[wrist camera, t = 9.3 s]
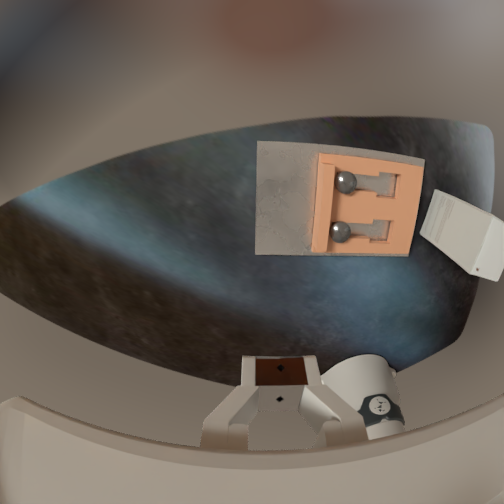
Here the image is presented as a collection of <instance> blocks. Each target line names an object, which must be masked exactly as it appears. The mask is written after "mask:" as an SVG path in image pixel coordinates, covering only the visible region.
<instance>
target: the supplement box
mask: <svg viewBox="0 0 504 504" xmlns="http://www.w3.org/2000/svg"><path fill="white" fill-rule="evenodd" d="M420 235H422V236H423V237H424V238H426V239H427V240H428V241H430V242H431V243H432V244H434V245H435V246H436V247H437V248H439V249H440V250H441V251H442V252H444V253H445V254H446V255H447V256H449V257H450V258H451V259H452V260H453V261H455V262H456V263H457V264H458V265H459V266H461V267H462V268H463V269H464V270H465V271H466V272H467V273H469V274H471V275H475V276H479V277H483V278H486V279H490V280H493V281H496V282H497V281H498V280H499V278H500V275H501V273H502V271H503V269H504V222H503V221H501V220H500V219H498V218H497V217H496V216H494V215H492V214H490V213H487V212H485V211H483V210H481V209H479V208H477V207H475V206H473V205H471V204H469V203H467V202H465V201H462V200H460V199H458V198H456V197H454V196H451V195H449V194H447V193H444V192H442V191H439V190H436V189H435V190H434V193H433V197H432V200H431V203H430V206H429V209H428V212H427V215H426V218H425V220H424V223H423V226H422V229H421V231H420Z"/></svg>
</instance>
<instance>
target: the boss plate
mask: <svg viewBox="0 0 504 504" xmlns="http://www.w3.org/2000/svg"><path fill="white" fill-rule="evenodd" d="M319 153H327V154H338V155H348V156H356V157H365V158H372V159H380V160H386V161H393V162H399V163H405V164H411V165H416V166H421V167H424V163H425V159H421V158H416V157H411V156H405V155H400V154H394V153H388V152H382V151H375V150H368V149H361V148H353V147H344V146H335V145H325V144H313V143H298V142H279V141H257V181H256V235H255V255H326V256H408V255H409V253H408V254H383V253H315V252H312V250H311V246H312V237H313V226H314V216H315V204H316V191H317V177H318V161H319ZM423 172H424V169H423ZM422 180H423V177H422ZM396 183H397V174H394V173H386V172H379V176H370V175H361V174H353V173H351V172H349V171H341V172H337V175H336V177H335V179H334V185H335V187H336V189H337V190H338V191H339V192H341V193H343V194H350V193H352V192H353V191H354V190H355V189H360V190H371V191H375V192H377V195H376V196H384V197H394V198H395V190H396ZM421 187H422V185H421ZM420 194H421V192H420ZM419 201H420V198H419ZM418 207H419V204H418ZM417 212H418V210H417ZM416 218H417V216H416ZM390 223H391V220H376V219H373V223H372V224H364V223H346V222H344V221H337V222H332V225H331V227H330V229H329V235H330V237H331V238H332V240H333V241H334V242H336V243H343V242H345V241H347V240H348V239H349V237H350V235H354V236H368V237H369V238H370V240H374V241H387V239H388V234H389V228H390ZM415 223H416V221H415ZM414 228H415V226H414ZM413 233H414V231H413ZM412 237H413V236H412ZM411 242H412V240H411ZM410 246H411V245H410ZM409 251H410V249H409Z"/></svg>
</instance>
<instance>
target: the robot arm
mask: <svg viewBox="0 0 504 504" xmlns="http://www.w3.org/2000/svg"><path fill="white" fill-rule="evenodd" d="M396 375H397V374H396V371H395V370H394V369H392V368H390V367H389V365H388V363H387V361H386V360H385V359H384V358H383V357H381V356H378V355H372V354H367V355H359V356H355V357H352V358H349V359H346V360H344V361H342V362H340V363H338V364H337V365H335V366H333V367H332V368H331V369H329V370H328V371H327V372H326V373H324V374H323V375H321V376H320V373H319V369H318V364H317V360H316V357H315V356H284V357H267V356H243V358H242V376H241V386H237V387H236V388H235V389H234V390H233V391H232V392H231V393H230V394H229V395H228V396H227V397H226V398H225V399H224V400H223V401H222V403H221V404H220V405H219V406H218V407H217V408H216V409H215V410H214V411H213V412H212V413H211V414H210V415H209V416H208V417H207V418H206V419H205V420H204V423H203V430H202V436H201V442H200V447H195V446H187V445H179V444H173V443H167V442H161V441H156V440H151V439H145V438H141V437H137V436H132V435H128V434H124V433H120V432H117V431H113V430H109V429H105V428H102V427H99V426H96V425H93V424H90V423H87V422H84V421H81V420H78V419H75V418H72V417H70V416H67V415H64V414H62V413H60V412H57V411H55V410H52V409H50V408H48V407H45V406H43V405H41V404H38V403H36V402H34V401H32V400H30V399H28V398H25V397H23V396H16V397H14V398H11V399H9V400H7V401H5V402H3V403H1V404H0V504H504V393H503V394H501V395H499V396H497V397H495V398H493V399H491V400H489V401H487V402H485V403H483V404H481V405H478V406H476V407H474V408H472V409H470V410H467V411H465V412H462V413H460V414H457V415H455V416H452V417H449V418H447V419H444V420H441V421H438V422H435V423H433V424H429V425H426V426H423V427H420V428H416V429H413V430H410V431H405V428H404V423H405V421H404V417H403V413H402V412H401V410H400V407H399V405H400V403H401V399H400V396H399V392H398V389H397V386H396V383H395V380H394V379H395V377H396ZM258 411H298V412H299V414H300V415H301V416H302V417H303V418H304V420H305V421H306V422H307V423H308V424H309V426H310V427H311V428H312V429H313V430H314V432H315V433H316V434H317V435H318V436H317V438H316V441H315V442H314V445H313V446H312V448H308V449H296V450H295V449H294V450H267V451H266V450H248V425H249V424H250V422H251V421H252V419H253V418H254V417H255V415H256V414H257V412H258Z"/></svg>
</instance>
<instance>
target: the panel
mask: <svg viewBox="0 0 504 504" xmlns="http://www.w3.org/2000/svg"><path fill="white" fill-rule="evenodd" d="M423 169H424V167H421V166H416V165H411V164H405V163H399V162H393V161H386V160H380V159H372V158H365V157H356V156H348V155H338V154H327V153H319V161H318V177H317V191H316V204H315V216H314V226H313V237H312V246H311V250H312V252H315V253H383V254H408V253H409V249H410V245H411V240H412V236H413V231H414V226H415V221H416V216H417V210H418V204H419V198H420V192H421V185H422V177H423ZM341 171H349V172H351V173H353V174H361V175H370V176H379V172H386V173H394V174H397V183H396V190H395V198H394V197H384V196H376V195H377V192H375V191H371V190H360V189H355V190H354V191H353V192H352V193H350V194H343V193H341V192H339V191H338V190H337V189H336V187H335V185H334V179H335V177H336V175H337V172H341ZM373 219H376V220H391V223H390V228H389V234H388V239H387V241H374V240H370V238H369V237H368V236H354V235H350V237H349V239H348V240H347V241H345V242H343V243H336V242H334V241H333V240H332V238H331V237H330V235H329V229H330V227H331V225H332V222H337V221H344V222H346V223H364V224H372V223H373Z"/></svg>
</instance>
